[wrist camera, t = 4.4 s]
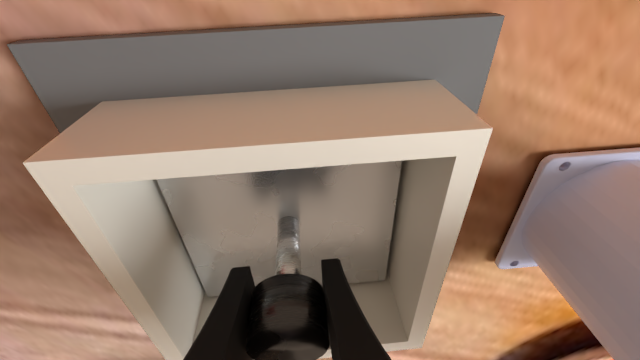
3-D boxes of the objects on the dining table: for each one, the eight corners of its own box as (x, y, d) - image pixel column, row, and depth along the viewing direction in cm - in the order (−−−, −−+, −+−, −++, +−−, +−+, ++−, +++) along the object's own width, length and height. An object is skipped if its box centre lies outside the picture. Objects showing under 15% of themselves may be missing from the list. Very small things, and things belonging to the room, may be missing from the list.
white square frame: (435, 79, 11) (493, 128, 8) (398, 279, 18) (421, 347, 15) (101, 101, 11) (22, 162, 8) (196, 298, 18) (175, 373, 15)
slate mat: (495, 13, 11) (504, 15, 10) (422, 287, 20) (425, 295, 20) (20, 40, 10) (6, 44, 10) (175, 310, 20) (172, 320, 19)
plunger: (403, 111, 12) (484, 220, 7) (382, 272, 18) (418, 392, 13) (142, 130, 11) (33, 258, 7) (209, 288, 17) (178, 419, 12)
